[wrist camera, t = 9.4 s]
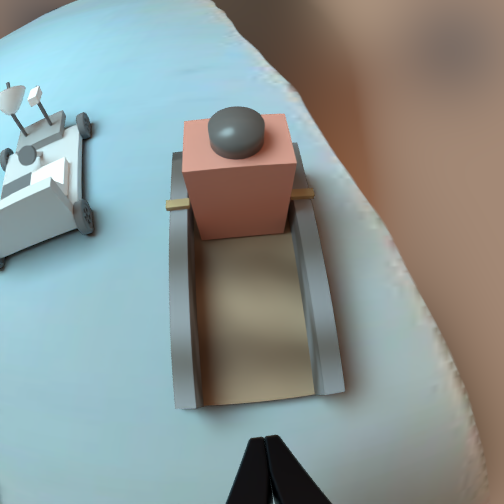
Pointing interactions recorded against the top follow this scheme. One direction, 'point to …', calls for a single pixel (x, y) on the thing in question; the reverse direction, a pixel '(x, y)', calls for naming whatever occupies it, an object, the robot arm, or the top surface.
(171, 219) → the track
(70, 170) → the toy car
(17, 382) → the top surface
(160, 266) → the top surface
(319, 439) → the top surface
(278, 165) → the slider
